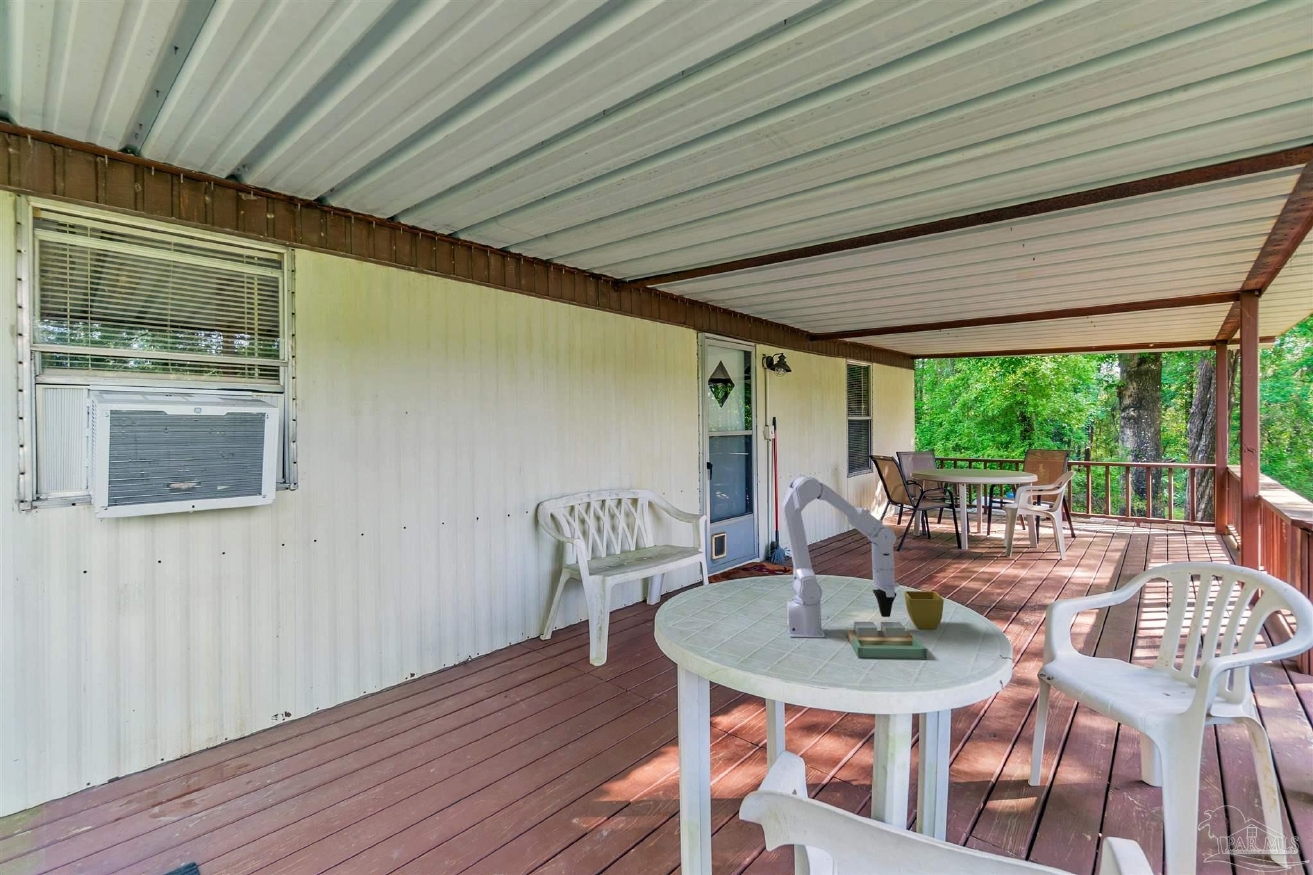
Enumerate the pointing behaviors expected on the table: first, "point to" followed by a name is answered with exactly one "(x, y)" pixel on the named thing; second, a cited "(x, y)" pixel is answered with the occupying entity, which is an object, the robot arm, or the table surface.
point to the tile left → (865, 629)
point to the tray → (890, 650)
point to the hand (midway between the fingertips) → (885, 616)
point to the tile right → (893, 629)
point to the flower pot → (924, 608)
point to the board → (880, 639)
